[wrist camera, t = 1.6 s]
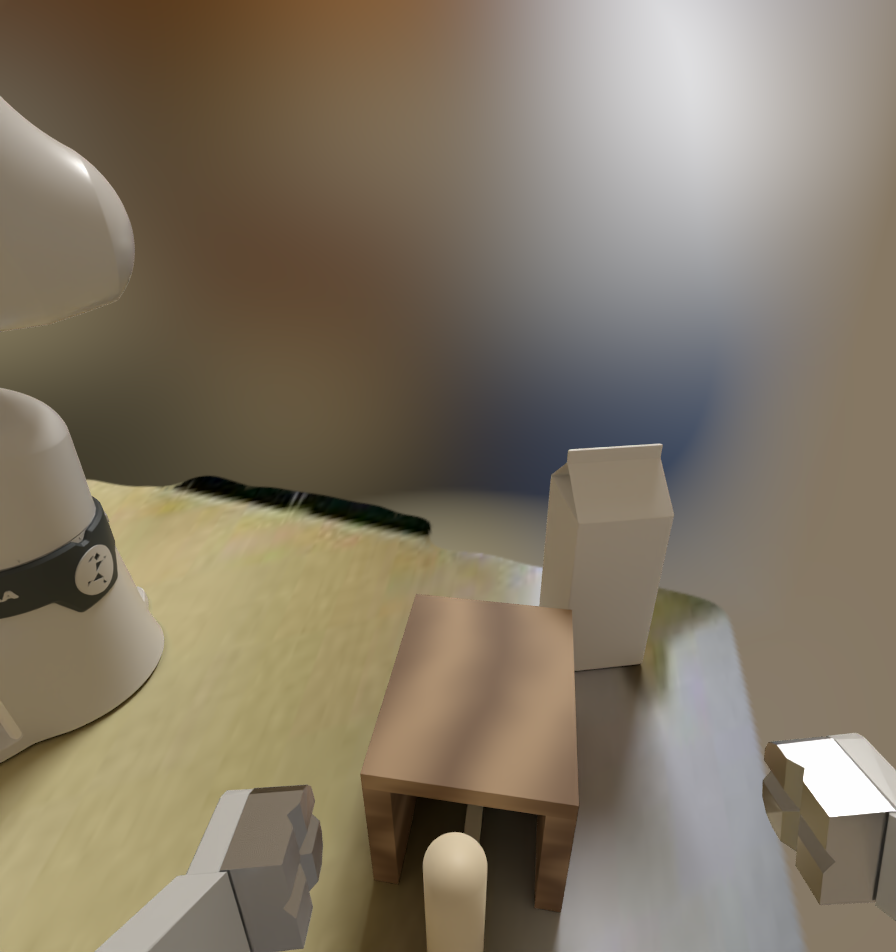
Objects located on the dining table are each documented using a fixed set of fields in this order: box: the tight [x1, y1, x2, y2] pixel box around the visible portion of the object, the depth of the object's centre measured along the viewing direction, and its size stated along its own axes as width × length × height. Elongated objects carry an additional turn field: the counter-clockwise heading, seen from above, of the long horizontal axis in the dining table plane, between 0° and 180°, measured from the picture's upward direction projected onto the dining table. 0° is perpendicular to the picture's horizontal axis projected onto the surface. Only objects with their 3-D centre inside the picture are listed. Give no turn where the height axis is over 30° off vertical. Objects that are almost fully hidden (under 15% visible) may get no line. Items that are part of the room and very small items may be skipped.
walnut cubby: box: [360, 594, 579, 912], centre depth 38 cm, size 11×14×10 cm
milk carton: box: [539, 444, 674, 671], centre depth 47 cm, size 7×7×19 cm
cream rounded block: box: [423, 804, 487, 952], centre depth 34 cm, size 5×16×11 cm, turn 171°
